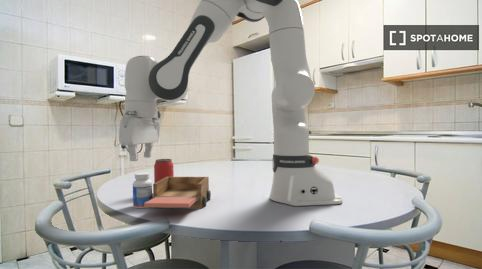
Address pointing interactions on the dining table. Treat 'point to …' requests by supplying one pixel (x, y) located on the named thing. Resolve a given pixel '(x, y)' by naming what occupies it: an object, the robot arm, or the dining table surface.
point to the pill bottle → (141, 189)
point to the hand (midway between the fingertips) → (141, 159)
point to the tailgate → (171, 201)
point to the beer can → (163, 169)
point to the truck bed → (184, 189)
